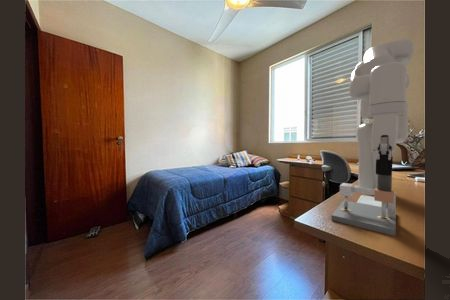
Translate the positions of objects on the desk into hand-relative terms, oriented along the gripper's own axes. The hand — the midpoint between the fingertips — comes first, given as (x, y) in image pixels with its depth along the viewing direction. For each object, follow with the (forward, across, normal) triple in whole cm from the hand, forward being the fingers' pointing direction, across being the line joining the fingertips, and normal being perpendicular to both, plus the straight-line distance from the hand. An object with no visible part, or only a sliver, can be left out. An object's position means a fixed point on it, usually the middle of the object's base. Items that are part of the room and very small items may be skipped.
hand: (384, 171), depth 51 cm
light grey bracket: (+13, 0, -4) cm, 14 cm away
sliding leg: (+13, +1, 0) cm, 13 cm away
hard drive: (+16, -18, -4) cm, 24 cm away
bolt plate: (+15, -1, -4) cm, 15 cm away
